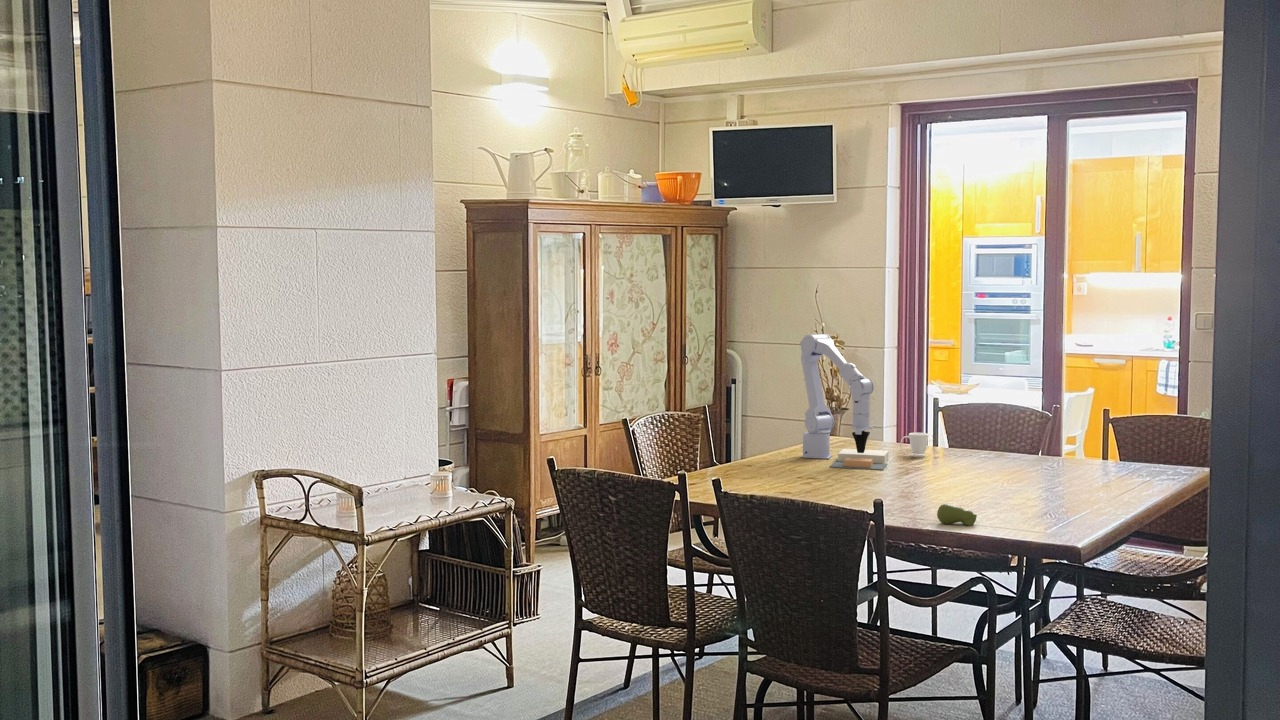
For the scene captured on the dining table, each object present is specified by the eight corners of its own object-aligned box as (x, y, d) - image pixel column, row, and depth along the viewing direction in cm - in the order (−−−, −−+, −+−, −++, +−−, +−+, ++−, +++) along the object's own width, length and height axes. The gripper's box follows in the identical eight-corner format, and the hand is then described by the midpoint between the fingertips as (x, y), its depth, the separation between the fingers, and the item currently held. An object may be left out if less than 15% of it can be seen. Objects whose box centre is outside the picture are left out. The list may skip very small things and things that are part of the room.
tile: (846, 457, 401) (846, 463, 401) (843, 460, 395) (843, 466, 396) (872, 458, 398) (872, 464, 399) (870, 461, 393) (870, 467, 393)
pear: (939, 500, 308) (977, 508, 306) (935, 519, 309) (973, 527, 307) (939, 504, 303) (978, 512, 301) (935, 523, 303) (974, 532, 301)
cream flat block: (837, 462, 407) (838, 453, 407) (843, 457, 418) (843, 448, 418) (884, 464, 402) (884, 455, 402) (888, 459, 413) (888, 450, 413)
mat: (829, 467, 395) (829, 466, 395) (834, 462, 407) (834, 461, 407) (883, 470, 390) (883, 469, 390) (887, 464, 401) (887, 463, 401)
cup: (929, 457, 417) (929, 435, 416) (900, 457, 419) (900, 434, 418) (927, 454, 424) (928, 432, 423) (899, 454, 425) (899, 432, 425)
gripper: (870, 416, 394) (869, 456, 395) (875, 411, 408) (875, 450, 409) (849, 415, 396) (848, 455, 397) (855, 411, 410) (854, 449, 411)
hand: (860, 452), depth 403 cm, fingers closed
